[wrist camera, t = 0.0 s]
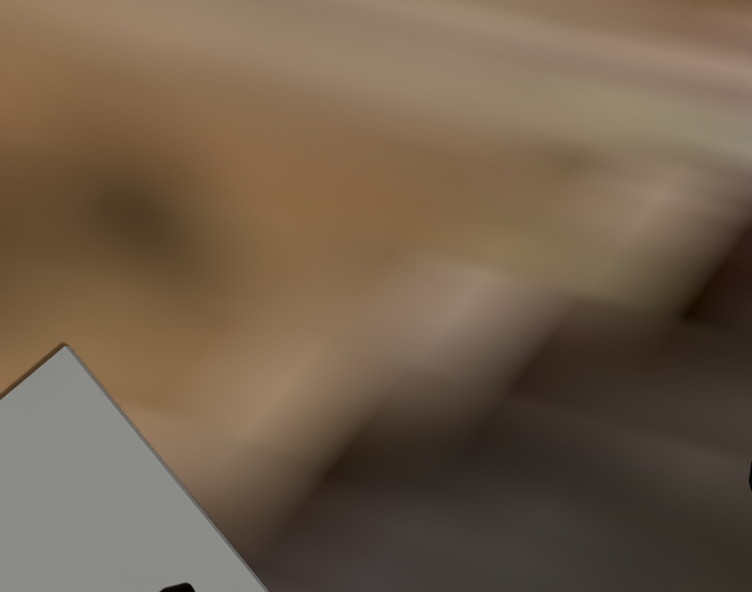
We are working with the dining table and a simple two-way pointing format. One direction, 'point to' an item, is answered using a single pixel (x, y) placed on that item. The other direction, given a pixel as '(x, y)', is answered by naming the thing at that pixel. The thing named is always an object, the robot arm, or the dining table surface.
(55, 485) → the mat
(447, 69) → the dining table surface
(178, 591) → the robot arm
